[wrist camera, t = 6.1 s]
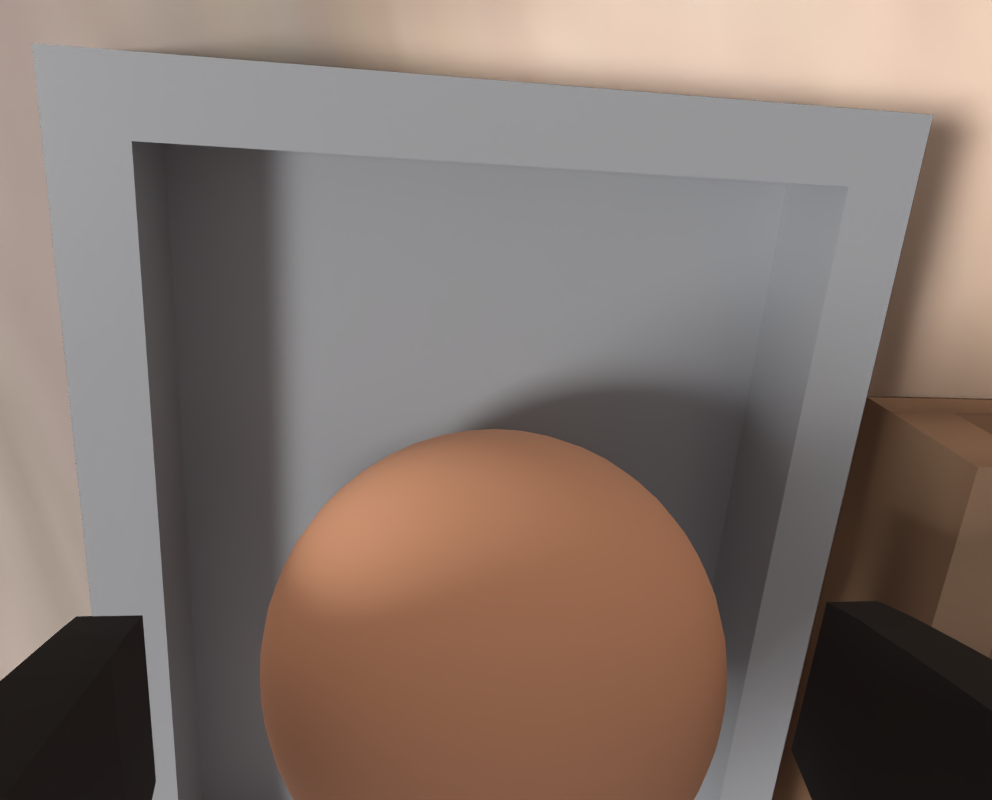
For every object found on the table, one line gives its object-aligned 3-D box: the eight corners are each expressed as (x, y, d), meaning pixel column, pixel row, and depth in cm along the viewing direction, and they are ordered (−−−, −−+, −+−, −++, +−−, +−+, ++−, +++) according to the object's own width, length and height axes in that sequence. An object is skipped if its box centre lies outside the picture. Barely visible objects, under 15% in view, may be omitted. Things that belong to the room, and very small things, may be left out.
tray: (691, 814, 15) (741, 927, 13) (165, 845, 14) (129, 977, 12) (829, 108, 11) (933, 114, 9) (102, 50, 10) (31, 43, 8)
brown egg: (635, 685, 13) (763, 1026, 8) (299, 694, 12) (231, 1064, 8) (675, 372, 11) (864, 579, 6) (285, 366, 11) (187, 587, 6)
